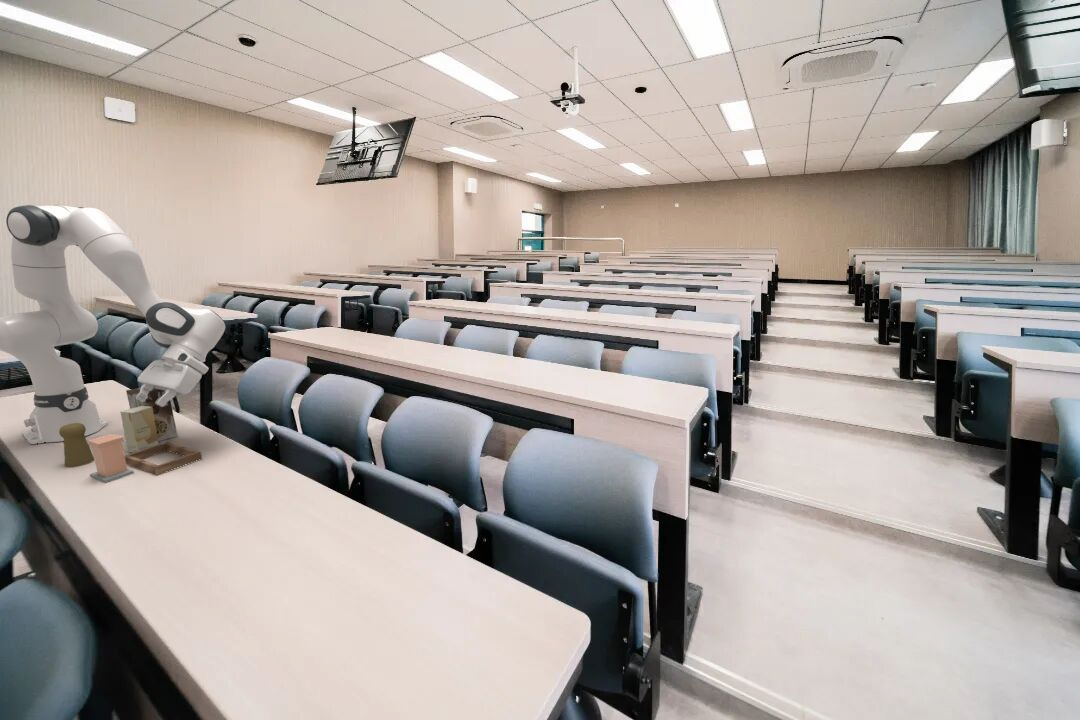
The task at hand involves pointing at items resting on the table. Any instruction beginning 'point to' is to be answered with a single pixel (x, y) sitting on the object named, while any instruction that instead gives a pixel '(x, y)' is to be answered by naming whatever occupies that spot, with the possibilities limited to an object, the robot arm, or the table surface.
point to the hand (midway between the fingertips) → (149, 402)
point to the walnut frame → (188, 457)
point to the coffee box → (156, 412)
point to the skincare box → (139, 428)
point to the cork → (75, 445)
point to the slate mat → (113, 477)
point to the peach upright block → (108, 455)
